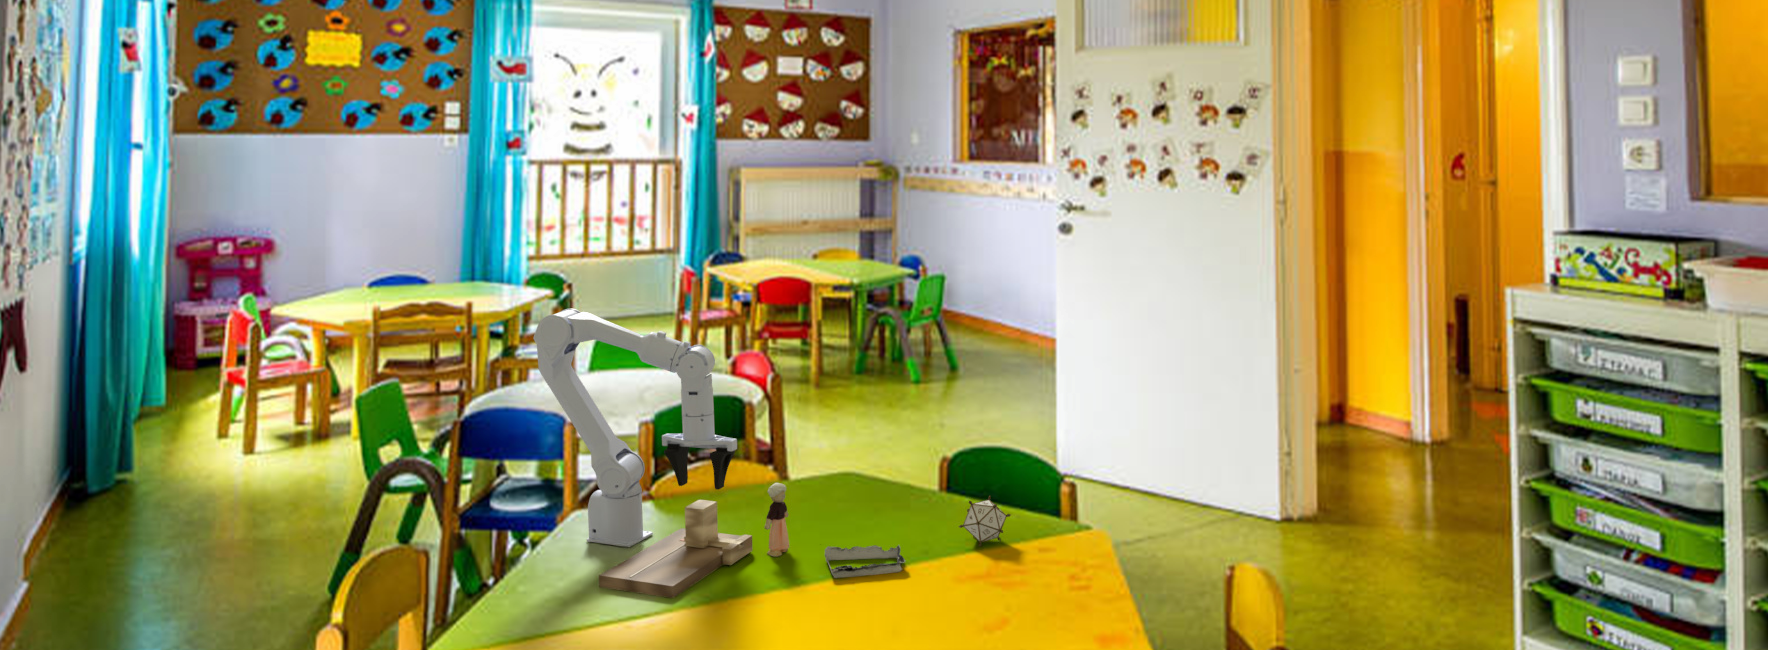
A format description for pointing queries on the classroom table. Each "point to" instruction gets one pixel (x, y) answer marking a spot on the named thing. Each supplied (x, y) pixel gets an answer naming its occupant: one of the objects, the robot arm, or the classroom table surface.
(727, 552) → the beige l-shaped block
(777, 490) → the grandmother figurine
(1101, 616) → the classroom table surface
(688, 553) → the board
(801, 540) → the classroom table surface
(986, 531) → the game die
